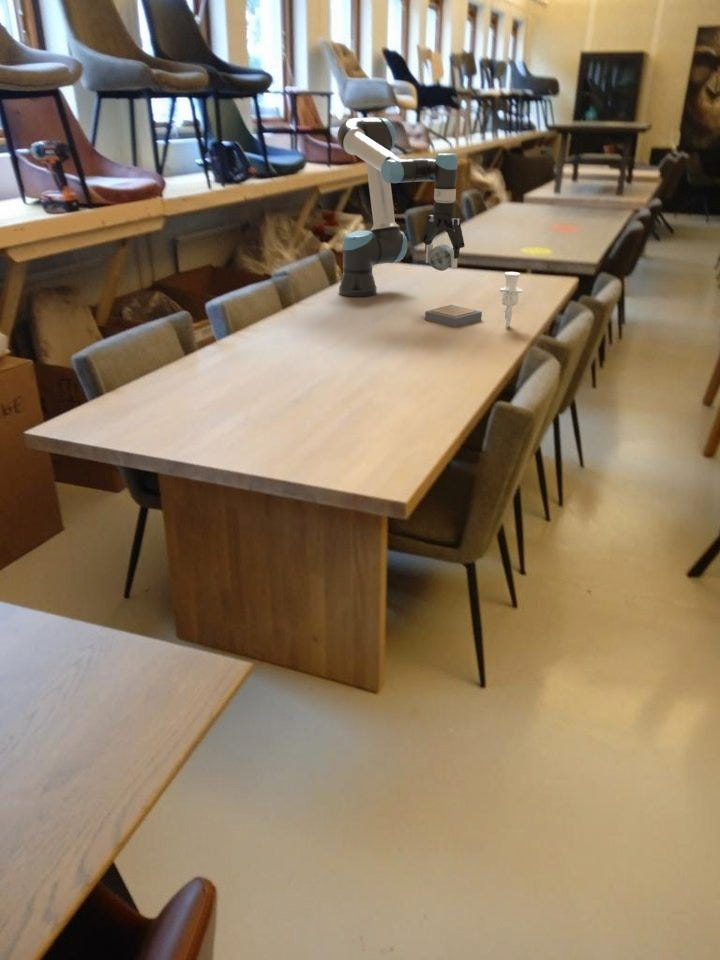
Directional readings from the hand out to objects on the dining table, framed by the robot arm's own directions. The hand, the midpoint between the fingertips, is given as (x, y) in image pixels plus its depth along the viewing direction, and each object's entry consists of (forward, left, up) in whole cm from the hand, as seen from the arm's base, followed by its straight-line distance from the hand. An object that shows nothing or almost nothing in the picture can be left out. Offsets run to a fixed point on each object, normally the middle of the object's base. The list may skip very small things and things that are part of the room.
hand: (441, 265), depth 272 cm
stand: (+15, -10, -16) cm, 24 cm away
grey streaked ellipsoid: (0, 0, -1) cm, 1 cm away
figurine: (+34, -4, -16) cm, 38 cm away
